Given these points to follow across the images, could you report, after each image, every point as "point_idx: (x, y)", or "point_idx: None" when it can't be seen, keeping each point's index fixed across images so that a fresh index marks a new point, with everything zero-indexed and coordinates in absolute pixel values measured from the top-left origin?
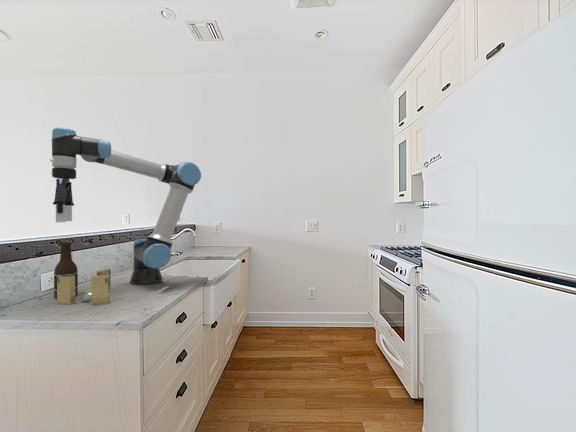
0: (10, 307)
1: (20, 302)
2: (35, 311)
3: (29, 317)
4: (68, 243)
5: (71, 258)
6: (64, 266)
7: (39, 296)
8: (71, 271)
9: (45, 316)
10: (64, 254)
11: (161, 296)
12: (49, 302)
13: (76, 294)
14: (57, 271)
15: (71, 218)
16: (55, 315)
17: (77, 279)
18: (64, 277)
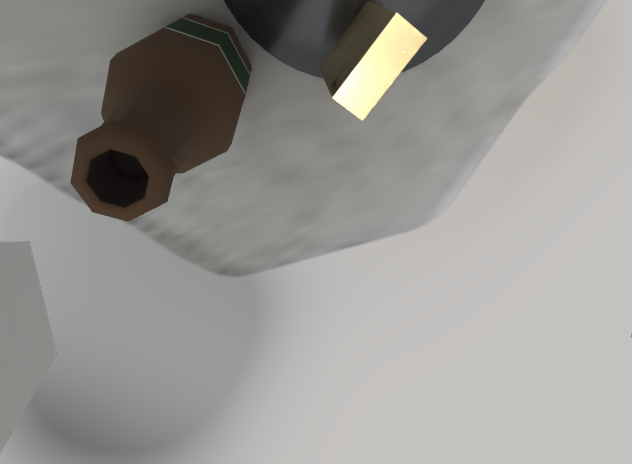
0: (248, 258)
1: (177, 247)
2: (367, 154)
3: (447, 154)
4: (152, 148)
5: (155, 88)
6: (227, 114)
7: None
8: (222, 62)
9: (471, 98)
10: (185, 145)
11: None
12: None
13: (201, 18)
14: (228, 146)
15: (2, 275)
16: (482, 61)
17: (176, 22)
18: (397, 74)
